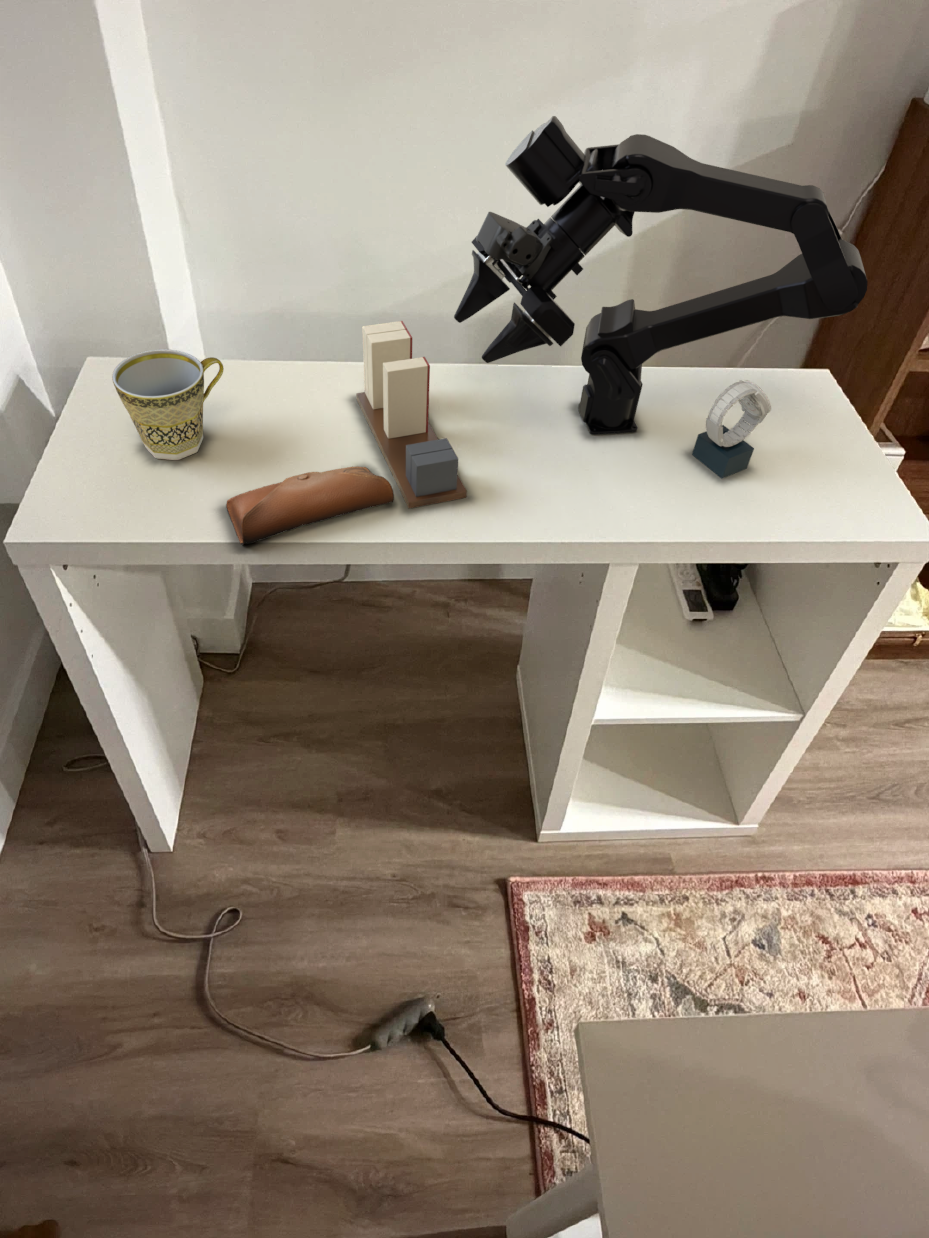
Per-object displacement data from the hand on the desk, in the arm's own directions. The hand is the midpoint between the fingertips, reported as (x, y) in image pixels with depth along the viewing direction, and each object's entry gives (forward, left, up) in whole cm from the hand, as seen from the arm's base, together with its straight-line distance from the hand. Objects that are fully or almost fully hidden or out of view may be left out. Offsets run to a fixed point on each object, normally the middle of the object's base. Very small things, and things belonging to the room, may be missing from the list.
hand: (469, 339), depth 102 cm
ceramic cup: (+35, -1, -13) cm, 37 cm away
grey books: (+6, +12, -13) cm, 18 cm away
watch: (-31, +10, -13) cm, 35 cm away
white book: (+8, +1, -12) cm, 14 cm away
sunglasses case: (+21, +13, -13) cm, 28 cm away
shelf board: (+8, +3, -13) cm, 15 cm away
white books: (+9, -6, -12) cm, 16 cm away
